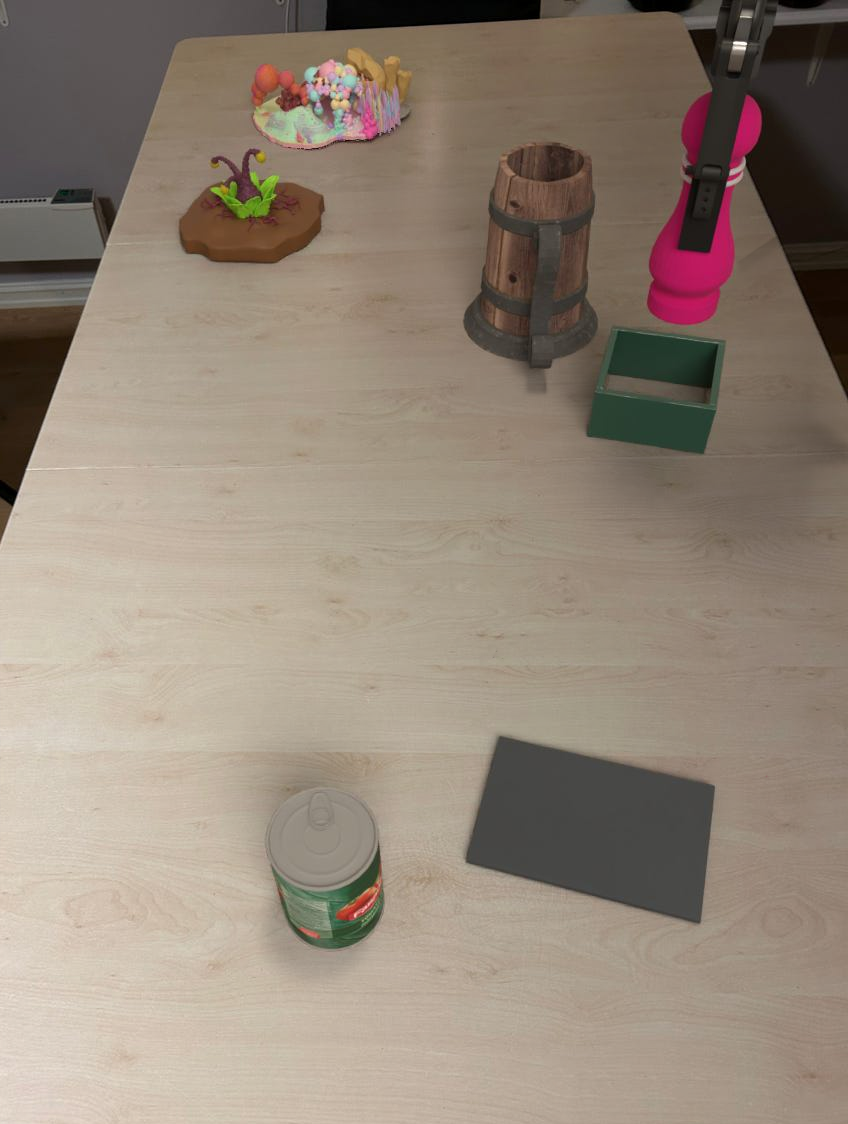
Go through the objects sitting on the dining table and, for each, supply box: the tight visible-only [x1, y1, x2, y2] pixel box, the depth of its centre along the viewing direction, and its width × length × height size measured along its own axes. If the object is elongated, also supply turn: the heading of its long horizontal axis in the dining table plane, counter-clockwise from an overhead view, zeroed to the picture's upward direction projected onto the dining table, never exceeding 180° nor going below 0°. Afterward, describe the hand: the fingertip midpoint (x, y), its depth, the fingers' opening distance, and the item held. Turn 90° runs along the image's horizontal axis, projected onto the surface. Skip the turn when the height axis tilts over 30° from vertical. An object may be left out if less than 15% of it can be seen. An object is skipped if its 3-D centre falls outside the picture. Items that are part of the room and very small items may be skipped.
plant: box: [178, 147, 326, 264], centre depth 135 cm, size 20×20×11 cm
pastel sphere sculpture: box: [250, 46, 413, 150], centre depth 157 cm, size 25×24×9 cm
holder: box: [587, 325, 727, 455], centre depth 108 cm, size 13×13×6 cm
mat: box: [465, 735, 716, 924], centre depth 78 cm, size 18×12×1 cm, turn 73°
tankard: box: [463, 141, 599, 370], centre depth 112 cm, size 24×17×20 cm
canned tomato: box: [264, 785, 386, 952], centre depth 71 cm, size 8×8×11 cm
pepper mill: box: [646, 90, 763, 326], centre depth 81 cm, size 7×7×20 cm
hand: (698, 230), depth 83 cm, fingers closed on pepper mill, 5 cm apart
